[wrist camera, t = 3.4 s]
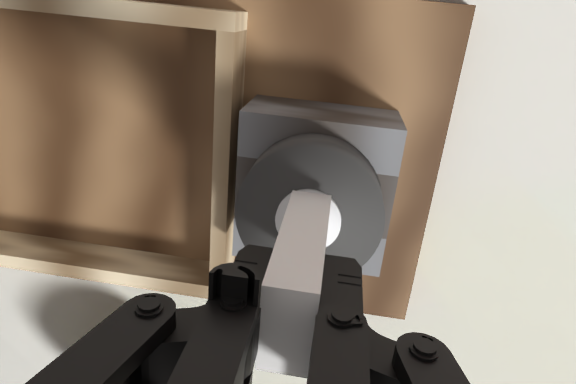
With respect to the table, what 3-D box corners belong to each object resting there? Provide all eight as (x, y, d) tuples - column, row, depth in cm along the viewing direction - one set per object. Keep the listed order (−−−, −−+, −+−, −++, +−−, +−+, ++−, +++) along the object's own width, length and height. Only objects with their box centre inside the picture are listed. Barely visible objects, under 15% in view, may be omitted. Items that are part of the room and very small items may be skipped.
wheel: (257, 214, 25) (230, 276, 20) (265, 106, 23) (236, 139, 17) (367, 229, 25) (372, 297, 19) (386, 120, 23) (398, 159, 17)
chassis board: (-42, 240, 30) (-116, 283, 26) (-102, -49, 24) (-215, -63, 19) (402, 307, 28) (412, 369, 23) (469, 5, 21) (503, 4, 17)
